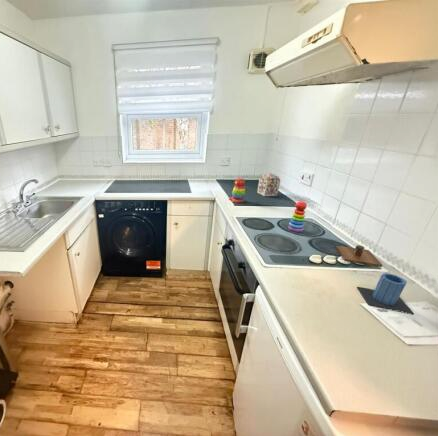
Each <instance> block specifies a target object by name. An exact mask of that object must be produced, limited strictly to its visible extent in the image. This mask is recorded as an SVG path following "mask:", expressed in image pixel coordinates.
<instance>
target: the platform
mask: <svg viewBox="0 0 438 436" xmlns="http://www.w3.org/2000/svg"><path fill="white" fill-rule="evenodd" d="M334 248H335V250H336V251H337V252H338V254H339V256H340V257H341V258H342V260H343V261H344V262H347V263H353V264H360V265H366V266H371V267H378V268H382V267H383V263H381V261H379V260H378V258H377V257H376V256H375V255H374V254H373V253H372V252H371V251H370V250H369V249H365V246H363V245H361V244H357V245H356V246H355V247H350V246H343V245H336V244H335V246H334Z"/></svg>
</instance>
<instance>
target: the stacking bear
mask: <svg viewBox="0 0 438 436" xmlns="http://www.w3.org/2000/svg"><path fill="white" fill-rule="evenodd" d="M245 184H246V180H245V179H244V178H241V177H238V178H237V179H236V180H235V181H234V187H233V189H232V193H231V195H232V196H230V197H228V200H229V201H232V203H234V204H240V203H243V202H244V201H245V199H244V198H245V196H246V186H245Z"/></svg>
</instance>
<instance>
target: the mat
mask: <svg viewBox="0 0 438 436" xmlns="http://www.w3.org/2000/svg"><path fill="white" fill-rule="evenodd" d="M356 288H357V290H358V292H359V293H360V294H361V296H362V298H363V299H364V302H366V304H367V306H370V307H376V308H380V309H384V308H385V310H389V309H392V310H391V311H394V310H399V311H403V312H407V313H406V314H408V313H411V314H410V315H415V313H414V312H413V310H412V309H411V308H410V307H409V306H408V304H407V303H406V302H405V301H404V300H403V299H402V297H400V296H399V298H398V300H397V302H396V304H395V305H386V304H383V303H380V302H379V301H377V300H375V299H374V298H373V296H372V294H373V292H374V290H375V289H373V288H366V287H362V286H356ZM399 311H398V312H399ZM403 312H402V313H403Z"/></svg>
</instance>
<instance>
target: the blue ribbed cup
mask: <svg viewBox="0 0 438 436" xmlns="http://www.w3.org/2000/svg"><path fill="white" fill-rule="evenodd" d="M407 283H408V282H407V281H406V280H405V279H404V278H403V277H401V276H400V275H396V274H393V273H390V272H389V273H387V272H383V273H382V274H381V275H380V277H379V279H378V281H377V283H376V286H375V288H374V289H373V290H374V292H373V294H372V296H373V298H374V299H375V300H377V301H379V302H380V303H383V304H386V305H395V304H396V302H397V300H398V298H399V297H400V296H401V295H402V293H403V291H404V289H405V287H406V285H407Z"/></svg>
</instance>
